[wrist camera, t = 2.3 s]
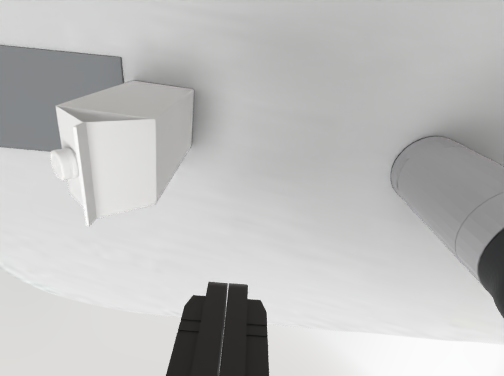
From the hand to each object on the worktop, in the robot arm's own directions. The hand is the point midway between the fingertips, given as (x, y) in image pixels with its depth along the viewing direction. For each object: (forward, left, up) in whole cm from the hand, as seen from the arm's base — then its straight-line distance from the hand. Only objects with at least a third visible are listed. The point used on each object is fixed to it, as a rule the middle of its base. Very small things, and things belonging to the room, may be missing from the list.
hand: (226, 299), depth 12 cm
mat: (+24, 0, -28) cm, 36 cm away
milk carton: (+10, 0, -28) cm, 30 cm away
